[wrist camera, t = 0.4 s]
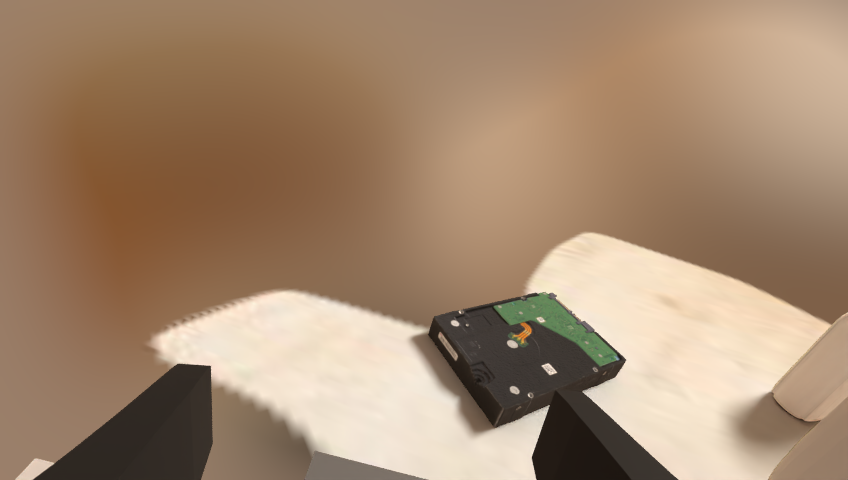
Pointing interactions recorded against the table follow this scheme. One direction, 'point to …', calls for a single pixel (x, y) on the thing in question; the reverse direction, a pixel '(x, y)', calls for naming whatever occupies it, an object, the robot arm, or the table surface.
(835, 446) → the citrus juicer
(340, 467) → the player cabinet
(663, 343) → the table surface
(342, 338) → the table surface
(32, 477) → the drawer
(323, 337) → the table surface
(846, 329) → the photo printer
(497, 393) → the disk drive
